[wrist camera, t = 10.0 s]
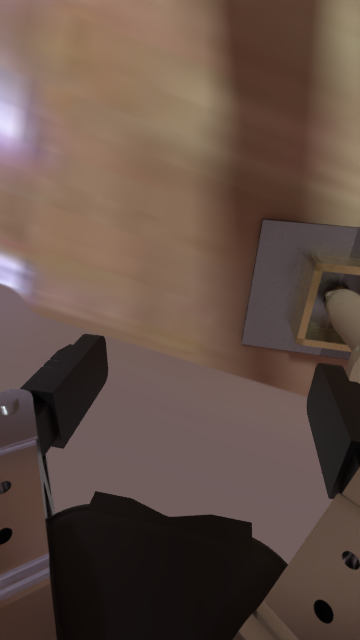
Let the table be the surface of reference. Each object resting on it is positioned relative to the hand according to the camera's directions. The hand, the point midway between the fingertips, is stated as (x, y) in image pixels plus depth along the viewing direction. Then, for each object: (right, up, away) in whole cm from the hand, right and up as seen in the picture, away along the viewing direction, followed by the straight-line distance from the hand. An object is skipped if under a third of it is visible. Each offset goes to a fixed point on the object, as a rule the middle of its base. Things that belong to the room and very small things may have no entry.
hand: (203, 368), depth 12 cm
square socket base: (+18, +5, +26) cm, 31 cm away
